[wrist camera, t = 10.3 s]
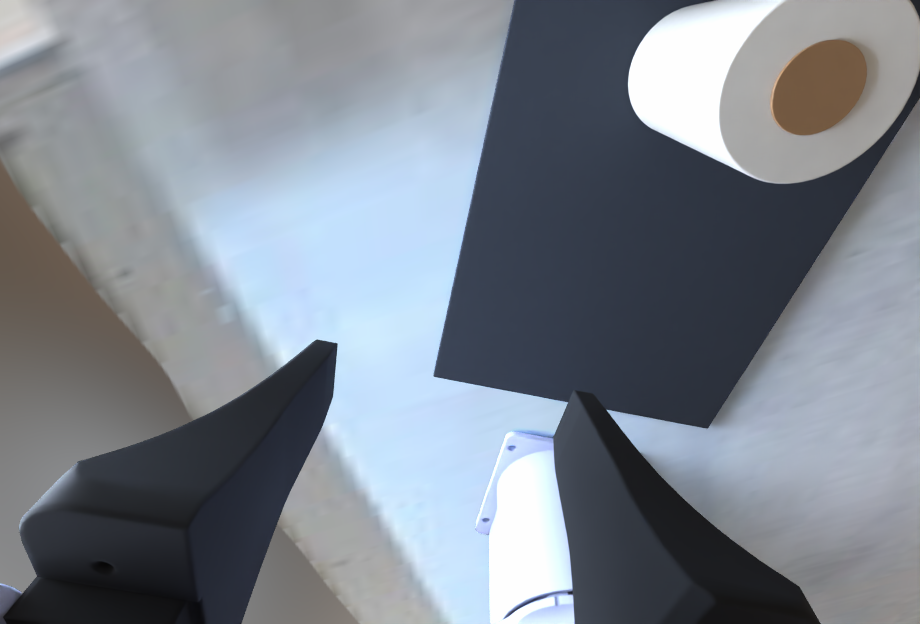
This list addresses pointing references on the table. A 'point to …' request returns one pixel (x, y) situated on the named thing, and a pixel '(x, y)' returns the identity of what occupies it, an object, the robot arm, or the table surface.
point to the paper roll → (778, 81)
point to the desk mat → (621, 232)
